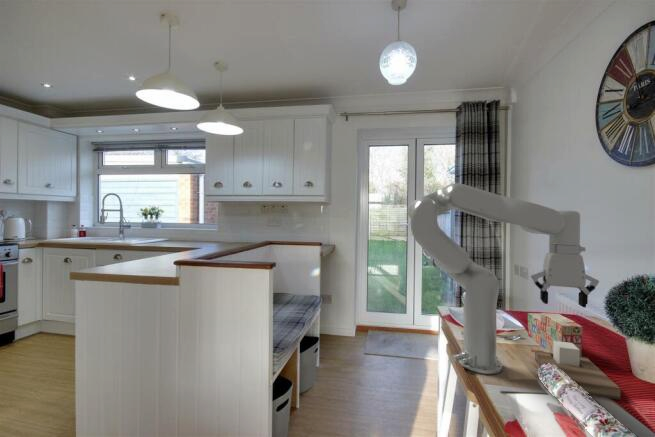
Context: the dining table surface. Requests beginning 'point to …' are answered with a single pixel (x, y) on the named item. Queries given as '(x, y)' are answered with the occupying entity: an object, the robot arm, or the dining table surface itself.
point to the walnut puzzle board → (584, 376)
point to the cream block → (566, 353)
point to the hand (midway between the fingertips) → (563, 304)
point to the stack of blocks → (554, 330)
